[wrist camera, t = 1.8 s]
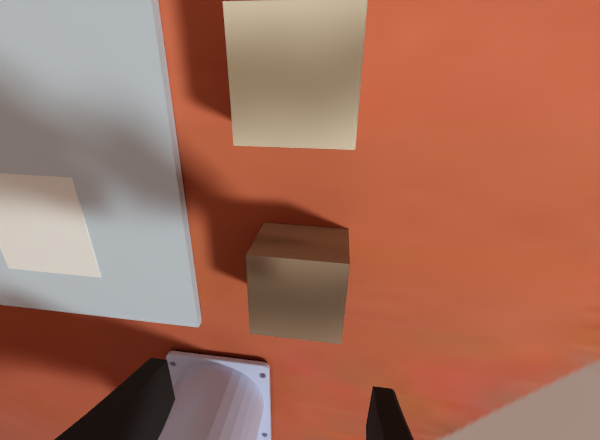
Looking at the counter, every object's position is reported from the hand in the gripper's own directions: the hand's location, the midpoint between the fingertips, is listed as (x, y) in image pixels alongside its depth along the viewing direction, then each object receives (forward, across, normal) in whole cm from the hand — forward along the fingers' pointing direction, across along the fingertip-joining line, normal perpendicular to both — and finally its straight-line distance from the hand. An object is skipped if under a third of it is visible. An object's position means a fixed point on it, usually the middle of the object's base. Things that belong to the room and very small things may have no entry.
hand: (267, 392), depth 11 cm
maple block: (+9, 0, -10) cm, 14 cm away
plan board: (+9, +15, -4) cm, 18 cm away
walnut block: (+9, 0, 0) cm, 9 cm away
